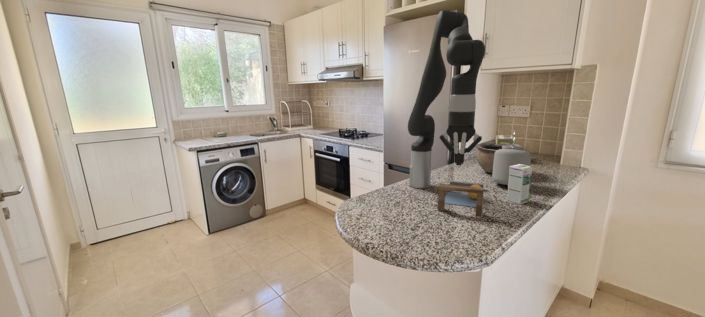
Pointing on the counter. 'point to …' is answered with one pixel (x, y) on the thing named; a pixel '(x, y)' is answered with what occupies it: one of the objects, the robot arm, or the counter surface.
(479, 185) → the stopper
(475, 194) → the ball
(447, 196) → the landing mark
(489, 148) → the ceramic bowl
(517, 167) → the syrup box
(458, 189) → the bridge
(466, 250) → the counter surface
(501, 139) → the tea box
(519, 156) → the jar
